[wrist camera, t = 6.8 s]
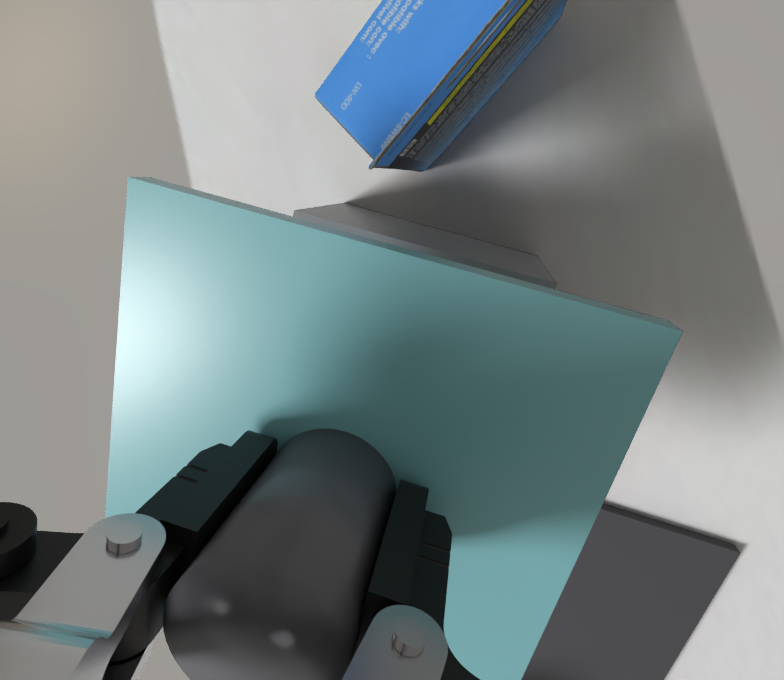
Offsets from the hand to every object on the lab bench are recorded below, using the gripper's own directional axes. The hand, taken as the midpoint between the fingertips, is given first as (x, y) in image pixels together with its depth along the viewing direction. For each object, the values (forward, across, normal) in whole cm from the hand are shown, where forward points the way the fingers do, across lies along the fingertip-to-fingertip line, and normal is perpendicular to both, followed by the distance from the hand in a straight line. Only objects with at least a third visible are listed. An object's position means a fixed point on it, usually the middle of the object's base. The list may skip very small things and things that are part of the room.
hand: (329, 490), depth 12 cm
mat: (+16, -13, +14) cm, 25 cm away
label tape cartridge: (+16, +1, -12) cm, 20 cm away
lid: (+1, 0, 0) cm, 1 cm away
